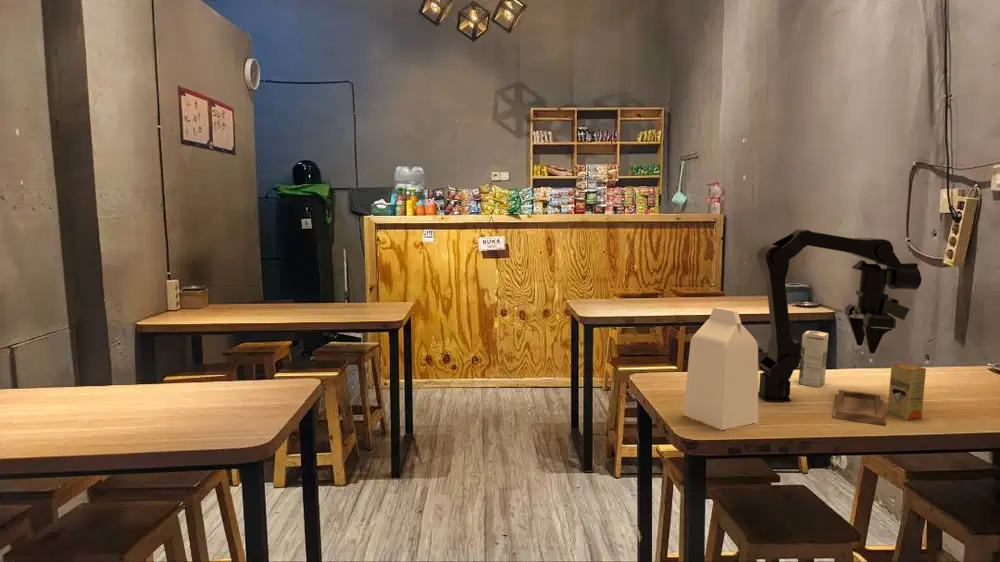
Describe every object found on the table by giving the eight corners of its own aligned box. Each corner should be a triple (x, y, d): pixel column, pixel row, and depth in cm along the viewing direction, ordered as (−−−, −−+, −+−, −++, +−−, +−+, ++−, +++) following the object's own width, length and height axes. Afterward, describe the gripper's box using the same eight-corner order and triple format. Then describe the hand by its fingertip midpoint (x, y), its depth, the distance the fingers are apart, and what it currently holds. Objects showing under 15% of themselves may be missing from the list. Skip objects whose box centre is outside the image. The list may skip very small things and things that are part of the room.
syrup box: (802, 379, 188) (805, 329, 186) (825, 383, 185) (828, 332, 183) (798, 384, 184) (801, 333, 182) (821, 387, 180) (825, 335, 178)
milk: (683, 415, 156) (687, 307, 153) (717, 408, 162) (722, 303, 159) (722, 431, 146) (728, 315, 143) (758, 423, 151) (764, 311, 148)
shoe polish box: (906, 420, 154) (911, 370, 152) (887, 414, 158) (891, 365, 157) (921, 418, 155) (925, 368, 154) (902, 411, 160) (906, 363, 159)
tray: (831, 417, 155) (832, 410, 155) (835, 396, 173) (835, 389, 172) (885, 425, 150) (886, 418, 150) (883, 402, 167) (884, 395, 167)
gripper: (923, 295, 155) (915, 360, 157) (892, 285, 173) (886, 343, 175) (871, 292, 157) (865, 356, 159) (847, 283, 176) (841, 340, 177)
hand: (865, 349), depth 168 cm, fingers open, 9 cm apart
